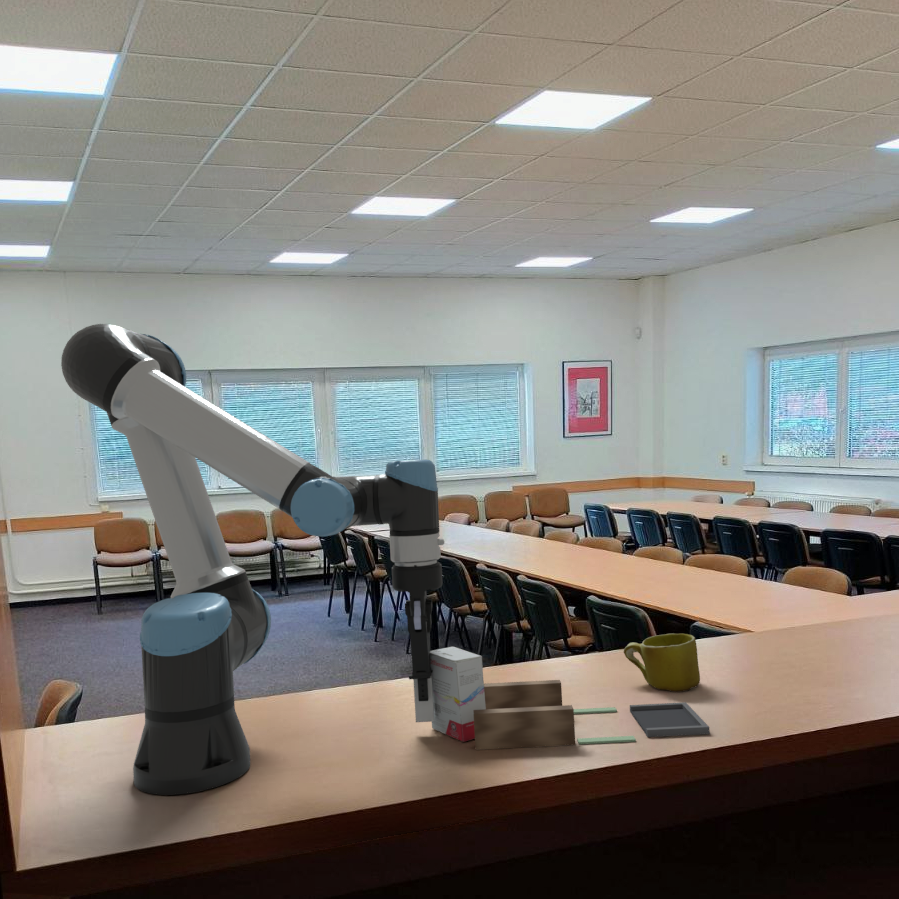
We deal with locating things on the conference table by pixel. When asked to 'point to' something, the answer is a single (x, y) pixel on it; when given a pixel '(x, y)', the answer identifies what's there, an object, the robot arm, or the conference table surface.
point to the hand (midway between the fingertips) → (425, 719)
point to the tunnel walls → (523, 716)
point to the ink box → (456, 691)
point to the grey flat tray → (668, 719)
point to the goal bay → (602, 739)
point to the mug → (667, 661)
